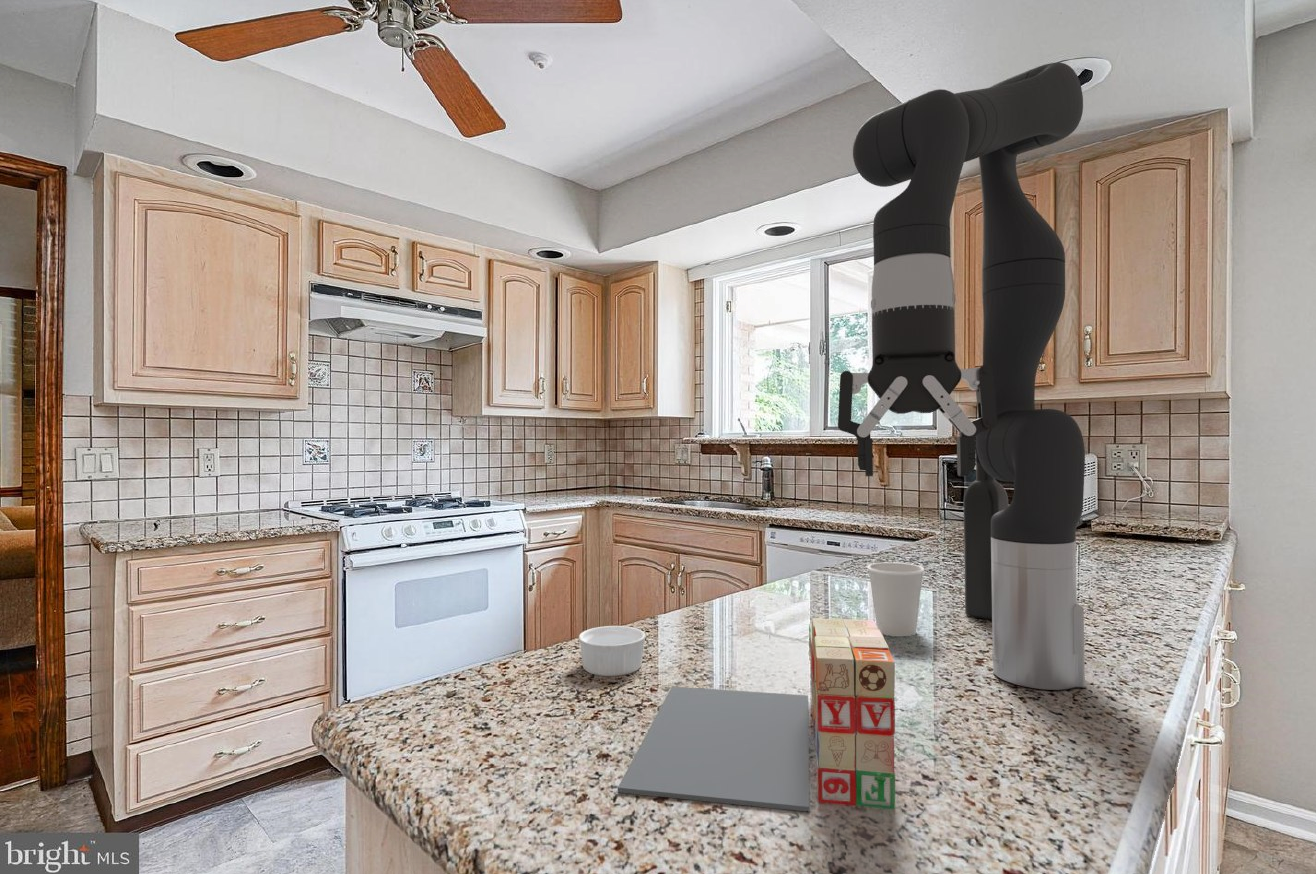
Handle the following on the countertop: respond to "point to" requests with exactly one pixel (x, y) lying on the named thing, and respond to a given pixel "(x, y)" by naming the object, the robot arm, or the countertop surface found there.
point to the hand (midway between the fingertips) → (914, 476)
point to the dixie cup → (896, 596)
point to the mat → (726, 749)
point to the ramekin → (612, 650)
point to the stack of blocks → (853, 712)
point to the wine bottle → (980, 540)
